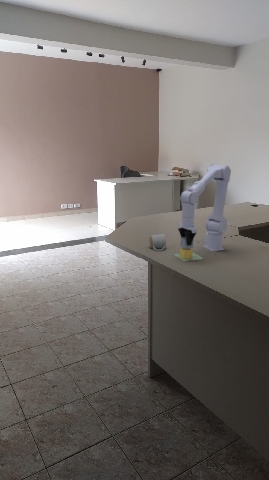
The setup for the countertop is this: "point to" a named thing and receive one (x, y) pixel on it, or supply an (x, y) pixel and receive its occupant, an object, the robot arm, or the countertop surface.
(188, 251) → the yellow brick
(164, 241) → the ceramic mug
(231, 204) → the countertop surface
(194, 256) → the baseplate
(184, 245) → the blue brick
